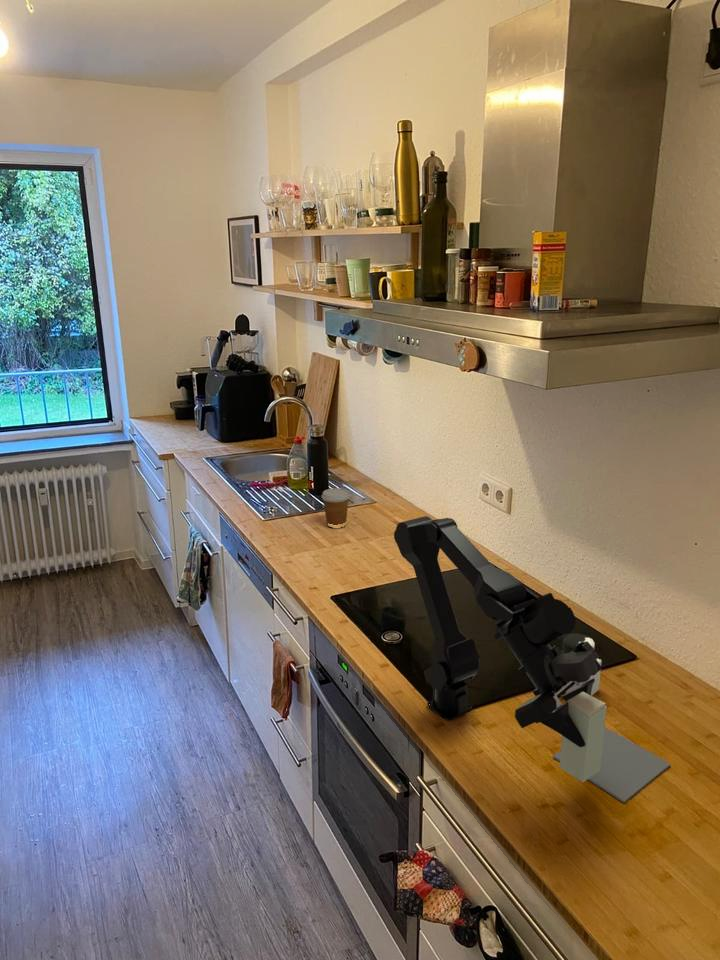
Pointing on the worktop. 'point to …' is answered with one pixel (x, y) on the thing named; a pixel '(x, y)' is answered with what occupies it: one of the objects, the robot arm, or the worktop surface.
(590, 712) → the tea tin
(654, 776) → the plate
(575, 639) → the medicine bottle
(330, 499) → the disposable coffee cup
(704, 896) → the worktop surface
